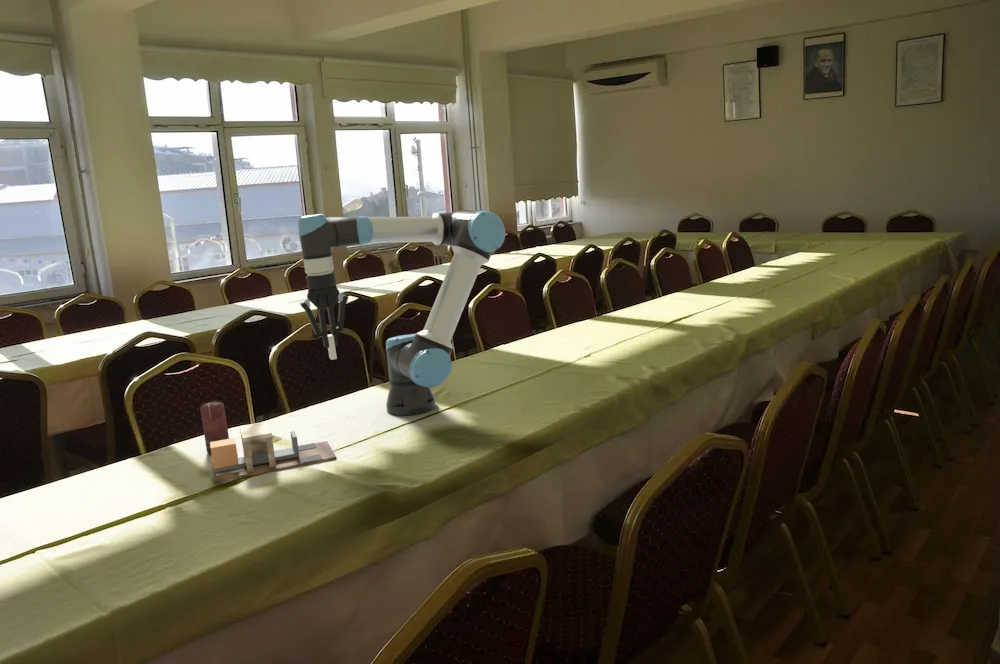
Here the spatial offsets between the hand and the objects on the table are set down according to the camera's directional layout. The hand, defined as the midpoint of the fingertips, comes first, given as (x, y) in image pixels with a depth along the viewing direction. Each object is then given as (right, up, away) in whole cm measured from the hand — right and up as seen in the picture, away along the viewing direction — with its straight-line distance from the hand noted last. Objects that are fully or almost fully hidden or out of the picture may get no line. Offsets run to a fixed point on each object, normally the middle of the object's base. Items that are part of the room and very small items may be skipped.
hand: (333, 358), depth 213 cm
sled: (-17, -26, -11) cm, 33 cm away
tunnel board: (-13, -27, -10) cm, 31 cm away
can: (-32, -26, +1) cm, 41 cm away
